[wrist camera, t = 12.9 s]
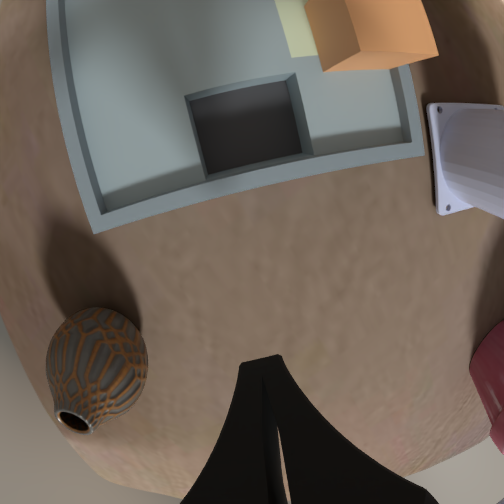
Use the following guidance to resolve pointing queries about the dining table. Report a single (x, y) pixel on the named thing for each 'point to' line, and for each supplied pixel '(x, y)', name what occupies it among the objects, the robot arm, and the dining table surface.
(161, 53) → the box
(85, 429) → the vase
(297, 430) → the robot arm
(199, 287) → the dining table surface
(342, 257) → the dining table surface
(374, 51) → the block
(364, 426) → the dining table surface
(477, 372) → the plant pot
